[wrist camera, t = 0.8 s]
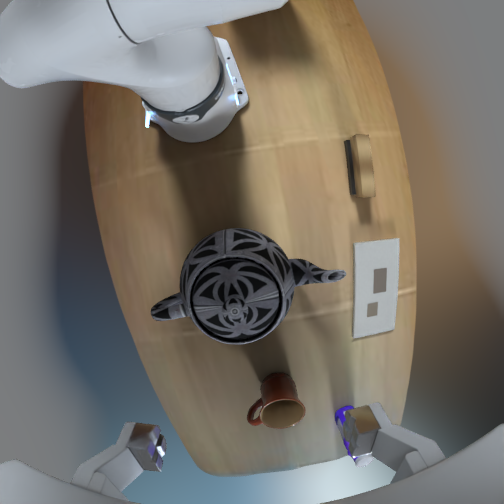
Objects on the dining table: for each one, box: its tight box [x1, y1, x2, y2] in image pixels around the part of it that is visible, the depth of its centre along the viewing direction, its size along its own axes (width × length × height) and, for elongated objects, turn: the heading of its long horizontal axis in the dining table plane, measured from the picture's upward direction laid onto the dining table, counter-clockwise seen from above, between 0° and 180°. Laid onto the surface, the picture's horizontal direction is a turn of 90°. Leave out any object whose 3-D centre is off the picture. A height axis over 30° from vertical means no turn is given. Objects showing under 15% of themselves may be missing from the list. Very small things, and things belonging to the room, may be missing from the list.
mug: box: [247, 373, 305, 429], centre depth 50 cm, size 12×9×10 cm
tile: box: [352, 238, 399, 338], centre depth 51 cm, size 20×10×1 cm, turn 6°
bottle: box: [335, 406, 373, 467], centre depth 50 cm, size 7×6×17 cm
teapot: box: [151, 228, 346, 344], centre depth 43 cm, size 19×31×15 cm, turn 104°
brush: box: [344, 134, 376, 197], centre depth 45 cm, size 11×4×4 cm, turn 6°
